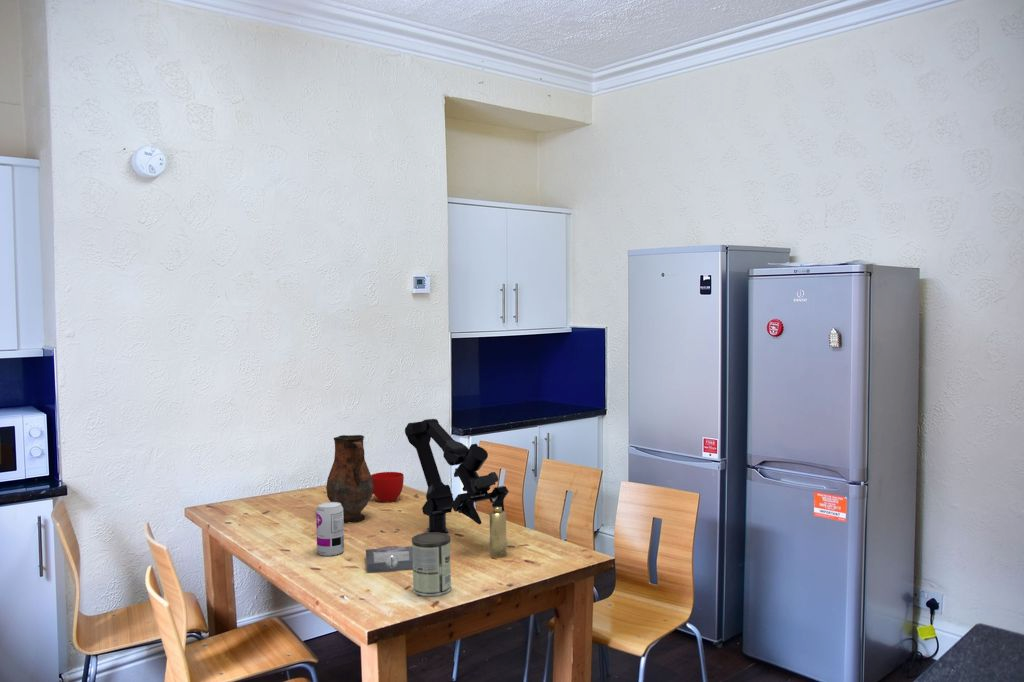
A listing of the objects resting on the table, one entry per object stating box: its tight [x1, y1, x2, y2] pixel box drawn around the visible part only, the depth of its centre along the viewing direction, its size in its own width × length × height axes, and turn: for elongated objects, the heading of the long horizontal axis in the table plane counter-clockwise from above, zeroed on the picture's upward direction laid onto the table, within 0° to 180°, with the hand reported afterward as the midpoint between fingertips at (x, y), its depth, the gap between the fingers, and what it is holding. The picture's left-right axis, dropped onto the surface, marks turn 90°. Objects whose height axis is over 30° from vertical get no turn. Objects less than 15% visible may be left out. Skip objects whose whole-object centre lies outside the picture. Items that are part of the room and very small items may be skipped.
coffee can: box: [411, 532, 452, 597], centre depth 208 cm, size 10×10×14 cm
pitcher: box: [325, 434, 373, 523], centre depth 279 cm, size 17×21×30 cm
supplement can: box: [315, 501, 345, 557], centre depth 242 cm, size 8×8×15 cm
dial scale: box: [365, 545, 413, 573], centre depth 231 cm, size 14×14×4 cm
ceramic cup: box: [371, 471, 405, 503], centre depth 308 cm, size 13×17×10 cm
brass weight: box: [489, 506, 507, 558], centre depth 238 cm, size 5×5×15 cm
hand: (492, 521), depth 240 cm, fingers open, 9 cm apart
